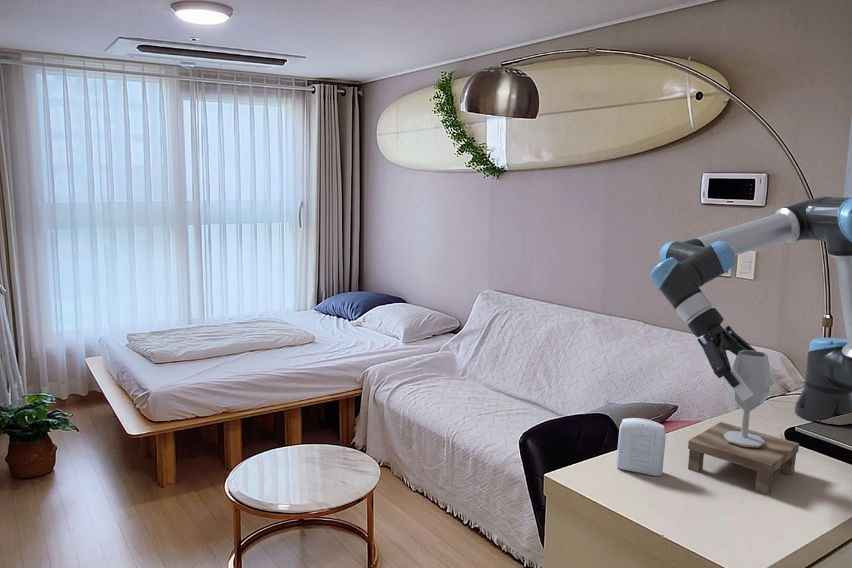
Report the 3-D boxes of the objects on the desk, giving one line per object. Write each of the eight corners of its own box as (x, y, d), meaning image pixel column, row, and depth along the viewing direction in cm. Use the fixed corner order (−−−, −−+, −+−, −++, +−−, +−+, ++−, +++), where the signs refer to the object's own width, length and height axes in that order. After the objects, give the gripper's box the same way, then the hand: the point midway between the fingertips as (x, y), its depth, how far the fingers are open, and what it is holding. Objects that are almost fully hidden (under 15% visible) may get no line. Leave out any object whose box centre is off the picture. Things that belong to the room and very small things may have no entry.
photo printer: (663, 471, 155) (667, 420, 153) (661, 478, 151) (666, 426, 149) (617, 462, 158) (621, 412, 156) (615, 469, 155) (618, 418, 153)
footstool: (718, 448, 168) (720, 421, 167) (795, 471, 155) (799, 443, 154) (686, 469, 156) (688, 440, 155) (767, 496, 143) (771, 465, 142)
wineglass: (721, 443, 153) (730, 354, 150) (724, 431, 160) (733, 346, 157) (764, 451, 149) (774, 360, 146) (764, 439, 156) (774, 351, 153)
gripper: (710, 317, 170) (766, 388, 162) (663, 332, 153) (724, 412, 145) (733, 300, 165) (792, 372, 157) (688, 313, 148) (752, 394, 140)
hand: (760, 391), depth 151 cm, fingers open, 13 cm apart
